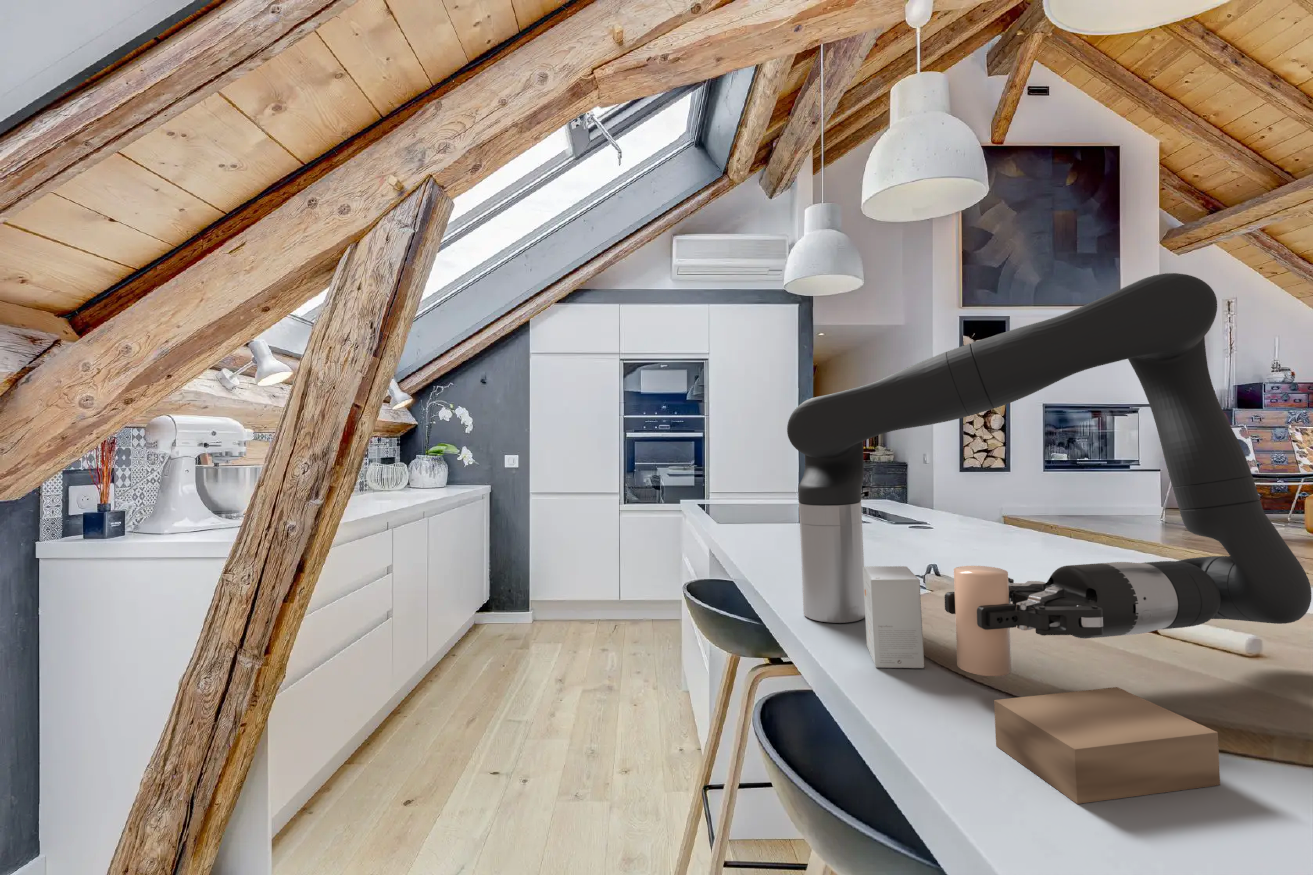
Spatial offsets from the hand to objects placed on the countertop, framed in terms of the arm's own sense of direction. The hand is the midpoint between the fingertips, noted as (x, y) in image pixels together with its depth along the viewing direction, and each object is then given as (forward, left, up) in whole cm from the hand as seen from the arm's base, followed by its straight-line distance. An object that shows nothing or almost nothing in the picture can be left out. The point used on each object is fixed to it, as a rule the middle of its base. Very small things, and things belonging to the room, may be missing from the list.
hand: (963, 610), depth 66 cm
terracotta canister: (0, +2, -6) cm, 6 cm away
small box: (-13, -1, -9) cm, 16 cm away
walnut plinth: (+14, +2, -9) cm, 17 cm away
